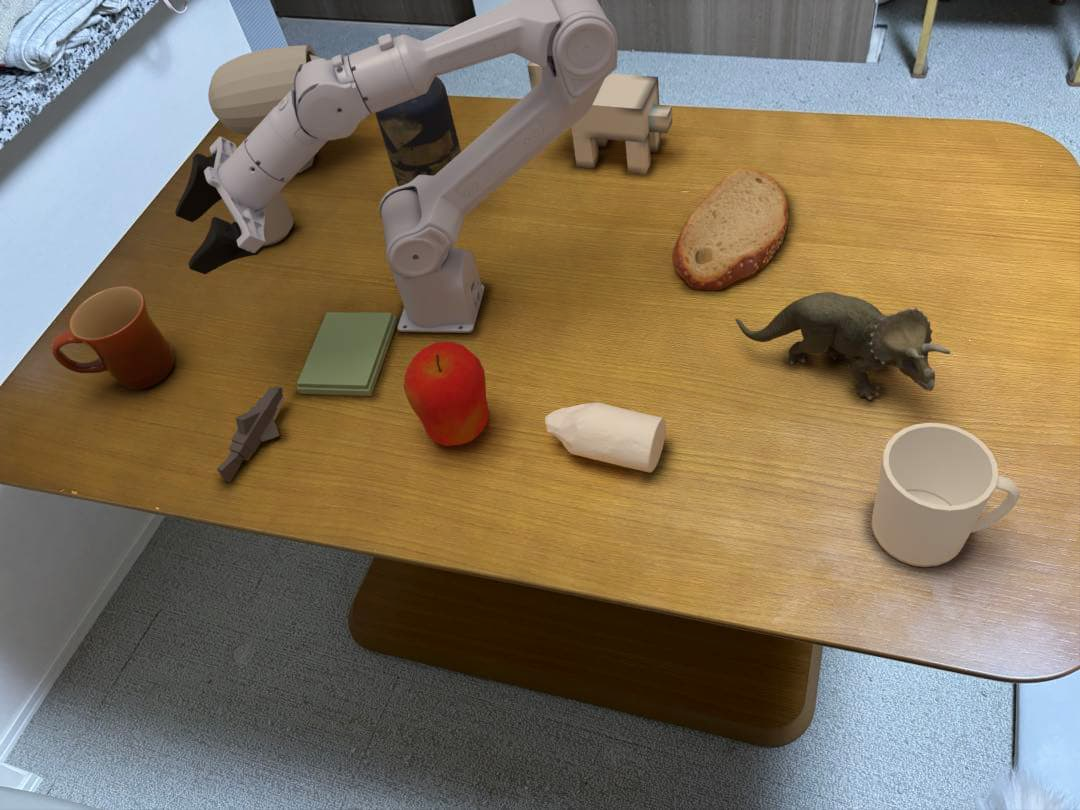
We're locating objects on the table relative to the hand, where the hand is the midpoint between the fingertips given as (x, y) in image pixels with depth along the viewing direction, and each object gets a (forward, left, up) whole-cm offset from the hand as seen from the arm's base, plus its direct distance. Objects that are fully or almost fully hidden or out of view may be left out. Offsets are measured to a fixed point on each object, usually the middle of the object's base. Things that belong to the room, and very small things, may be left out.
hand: (190, 242), depth 96 cm
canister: (-16, -30, -18) cm, 39 cm away
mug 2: (-75, +20, -18) cm, 80 cm away
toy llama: (-40, -39, -18) cm, 59 cm away
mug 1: (+15, +4, -18) cm, 24 cm away
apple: (-28, +10, -18) cm, 35 cm away
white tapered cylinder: (-44, +12, -18) cm, 49 cm away
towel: (-12, 0, -18) cm, 22 cm away
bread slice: (-56, -22, -18) cm, 63 cm away
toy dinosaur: (-68, 0, -18) cm, 71 cm away
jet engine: (+6, -39, -18) cm, 44 cm away
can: (+7, -23, -18) cm, 30 cm away
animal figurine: (-5, +13, -18) cm, 23 cm away
